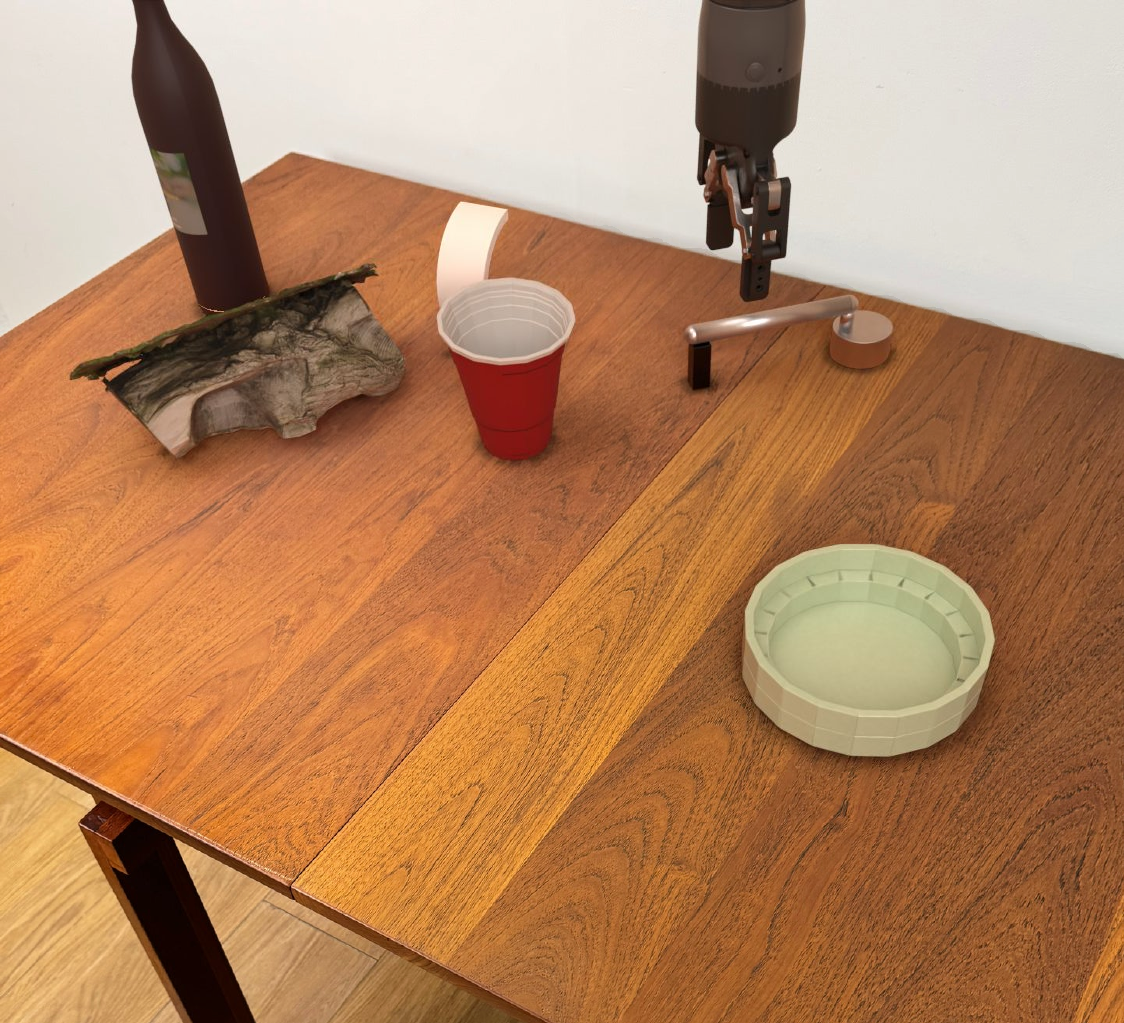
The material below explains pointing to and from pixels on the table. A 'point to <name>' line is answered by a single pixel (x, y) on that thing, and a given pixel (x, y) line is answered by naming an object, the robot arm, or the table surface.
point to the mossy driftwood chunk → (257, 365)
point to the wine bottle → (194, 163)
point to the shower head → (853, 333)
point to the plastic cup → (508, 359)
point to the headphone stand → (467, 247)
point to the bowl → (865, 649)
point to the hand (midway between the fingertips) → (735, 272)
